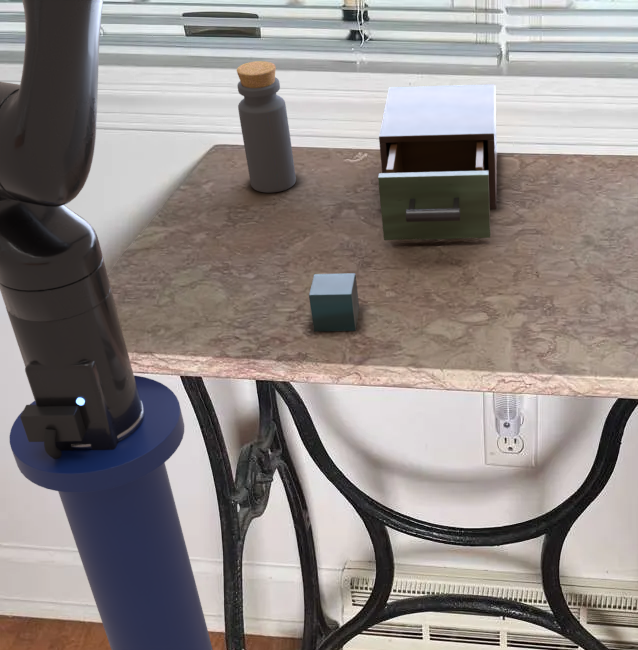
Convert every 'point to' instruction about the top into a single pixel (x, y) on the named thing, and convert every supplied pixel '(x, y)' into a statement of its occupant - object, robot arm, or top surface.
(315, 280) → the block
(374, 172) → the top surface
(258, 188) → the bottle
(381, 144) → the cabinet
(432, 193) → the drawer
